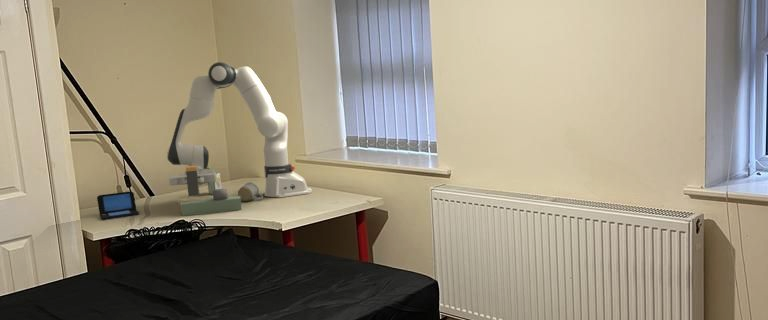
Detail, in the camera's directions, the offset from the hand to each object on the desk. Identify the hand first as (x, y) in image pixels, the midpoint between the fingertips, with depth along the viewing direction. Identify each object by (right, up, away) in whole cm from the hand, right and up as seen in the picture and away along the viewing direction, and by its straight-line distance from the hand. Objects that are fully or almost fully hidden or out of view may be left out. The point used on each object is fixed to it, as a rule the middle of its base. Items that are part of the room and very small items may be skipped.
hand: (192, 181), depth 312 cm
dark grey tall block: (0, -6, +2) cm, 6 cm away
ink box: (0, -7, +41) cm, 41 cm away
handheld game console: (-33, -15, +3) cm, 37 cm away
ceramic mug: (+23, -9, +18) cm, 30 cm away
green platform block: (+8, -12, +1) cm, 15 cm away
